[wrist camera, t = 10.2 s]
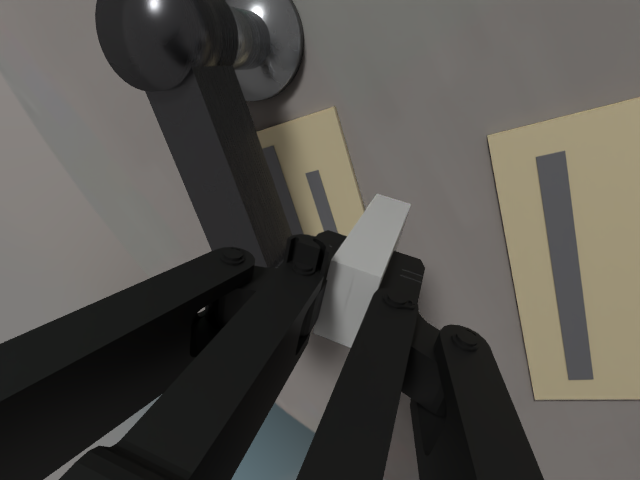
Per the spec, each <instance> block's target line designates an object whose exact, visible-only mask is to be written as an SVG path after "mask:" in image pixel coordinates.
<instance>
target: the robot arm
mask: <svg viewBox="0 0 640 480" xmlns="http://www.w3.org/2000/svg"><path fill="white" fill-rule="evenodd" d="M410 206H411V204H409V203H406V202H403V201H399V200H396V199H393V198H390V197H386V196H383V195H380V194H376V196H375V197H374V198H373V200H372V201H371V203H370V204H369V206H368V207H367V209H366V210H365V211H364V213H363V214H362V216H361V217H360V219H359V220H358V222H357V223H356V224H355V226H354V227H353V229H352V230H351V232H350V233H349V235H348V236H345V235H342V234H339V233H336V232H333V231H330V230H327V231H324V232H321V233H318V234H317V236H311V235H307V234H297V235H292V236H290V237H288V238H287V243H286V248H285V254H284V259H283V262H282V264H281V265H280V266H279V267H278V268H267V267H260V266H254V265H255V258H254V256H253V255H252V254H251V253H250V252H248V251H246V250H244V249H241V248H236V247H223V248H219V249H216V250H214V251H211V252H209V253H207V254H204V255H202V256H200V257H198V258H195V259H193V260H191V261H188V262H186V263H184V264H182V265H179V266H177V267H175V268H172V269H170V270H168V271H166V272H163V273H161V274H159V275H156V276H154V277H152V278H150V279H147V280H145V281H143V282H141V283H138V284H136V285H134V286H131V287H129V288H127V289H125V290H122V291H120V292H118V293H115V294H113V295H111V296H109V297H106V298H104V299H102V300H100V301H97V302H95V303H93V304H90V305H88V306H86V307H84V308H81V309H79V310H77V311H74V312H72V313H70V314H68V315H65V316H63V317H61V318H58V319H56V320H54V321H52V322H49V323H47V324H45V325H42V326H40V327H38V328H36V329H33V330H31V331H29V332H27V333H24V334H22V335H20V336H17V337H15V338H13V339H10V340H8V341H6V342H4V343H1V344H0V480H43V479H45V478H46V477H47V476H49V475H50V474H52V473H53V472H54V471H56V470H57V469H59V468H60V467H61V466H62V465H64V464H66V463H67V462H68V461H70V460H71V459H72V458H74V457H75V456H77V455H78V454H79V453H81V452H82V451H84V450H85V449H86V448H88V447H89V446H91V445H92V444H93V443H95V442H96V441H97V440H99V439H100V438H102V437H103V436H104V435H106V434H107V433H109V432H110V431H111V430H113V429H114V428H115V427H117V426H118V425H120V424H121V423H122V422H124V421H125V420H127V419H128V418H129V417H131V416H132V415H133V414H135V413H136V412H138V411H139V410H140V409H142V408H143V407H145V406H146V405H147V404H149V403H150V402H151V401H153V400H154V399H156V398H157V397H159V396H160V395H161V394H162V395H161V396H160V397H159V399H158V400H157V401H156V402H155V403H154V404H153V405H152V406H151V407H150V408H149V410H148V411H147V412H146V413H145V414H144V415H143V416H142V417H141V418H140V419H139V421H138V422H137V423H136V424H135V425H134V426H133V427H132V428H131V429H130V430H129V431H128V433H127V434H126V435H125V436H124V437H123V438H122V439H121V440H120V441H119V442H118V443H117V444H115V445H114V446H112V447H104V446H98V447H96V448H94V449H92V450H90V451H88V452H87V453H86V454H85V455H83V456H82V457H81V458H80V459H79V460H78V461H77V462H75V463H74V465H73V466H72V467H71V468H70V469H69V470H68V471H67V472H66V473H65V474H64V475H63V476H62V477H61V478H60V479H59V480H231V479H232V477H233V475H234V473H235V471H236V470H237V468H238V466H239V464H240V463H241V461H242V459H243V457H244V456H245V454H246V452H247V450H248V448H249V447H250V445H251V443H252V441H253V440H254V438H255V436H256V434H257V432H258V431H259V429H260V427H261V425H262V424H263V422H264V420H265V418H266V417H267V415H268V413H269V411H270V410H271V408H272V406H273V404H274V402H275V401H276V399H277V397H278V395H279V394H280V392H281V390H282V388H283V386H284V385H285V383H286V381H287V379H288V378H289V376H290V374H291V372H292V371H293V369H294V367H295V365H296V363H297V362H298V360H299V358H300V356H301V355H302V353H303V351H304V349H305V347H306V346H307V344H308V340H309V336H310V332H311V330H312V328H313V326H314V325H315V328H314V332H313V334H316V335H319V336H321V337H324V338H326V339H329V340H331V341H334V342H337V343H339V344H342V345H344V346H347V347H349V348H351V349H350V352H349V354H348V356H347V359H346V361H345V364H344V366H343V368H342V371H341V373H340V376H339V378H338V380H337V383H336V385H335V388H334V390H333V392H332V395H331V397H330V400H329V402H328V404H327V407H326V409H325V412H324V414H323V416H322V419H321V421H320V424H319V426H318V428H317V431H316V433H315V436H314V438H313V440H312V443H311V445H310V448H309V450H308V452H307V455H306V457H305V460H304V462H303V465H302V467H301V469H300V472H299V474H298V476H297V479H296V480H383V476H384V471H385V466H386V461H387V457H388V452H389V447H390V442H391V438H392V433H393V428H394V423H395V419H396V414H397V409H398V404H399V400H400V395H401V391H402V392H403V393H405V394H406V395H407V396H409V397H410V398H411V402H410V409H411V417H412V424H413V432H414V440H415V448H416V455H417V463H418V471H419V479H420V480H544V478H543V476H542V474H541V471H540V469H539V466H538V464H537V461H536V459H535V456H534V454H533V451H532V449H531V447H530V444H529V442H528V439H527V437H526V434H525V432H524V429H523V427H522V425H521V422H520V420H519V417H518V415H517V412H516V410H515V407H514V405H513V402H512V400H511V398H510V395H509V393H508V390H507V388H506V385H505V383H504V380H503V378H502V376H501V373H500V371H499V368H498V366H497V363H496V361H495V358H494V356H493V354H492V351H491V349H490V346H489V345H488V343H487V342H486V340H485V339H484V338H482V337H481V336H480V335H479V334H478V333H476V332H475V331H472V330H471V329H469V328H466V327H463V326H460V325H447V326H444V327H443V328H442V329H441V330H438V329H437V328H435V327H433V326H432V325H430V324H429V323H427V322H426V321H425V320H424V319H423V318H422V317H421V315H420V314H419V312H418V304H417V302H418V298H419V293H420V289H421V284H422V279H423V275H424V270H425V267H424V265H423V263H422V261H421V260H420V259H417V258H414V257H411V256H408V255H405V254H402V253H399V252H396V249H397V246H398V243H399V240H400V237H401V234H402V231H403V228H404V225H405V222H406V218H407V215H408V212H409V209H410ZM204 307H205V310H204V311H202V312H200V313H197V312H198V311H200V310H201V309H202V308H204ZM315 323H316V324H315Z"/></svg>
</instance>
